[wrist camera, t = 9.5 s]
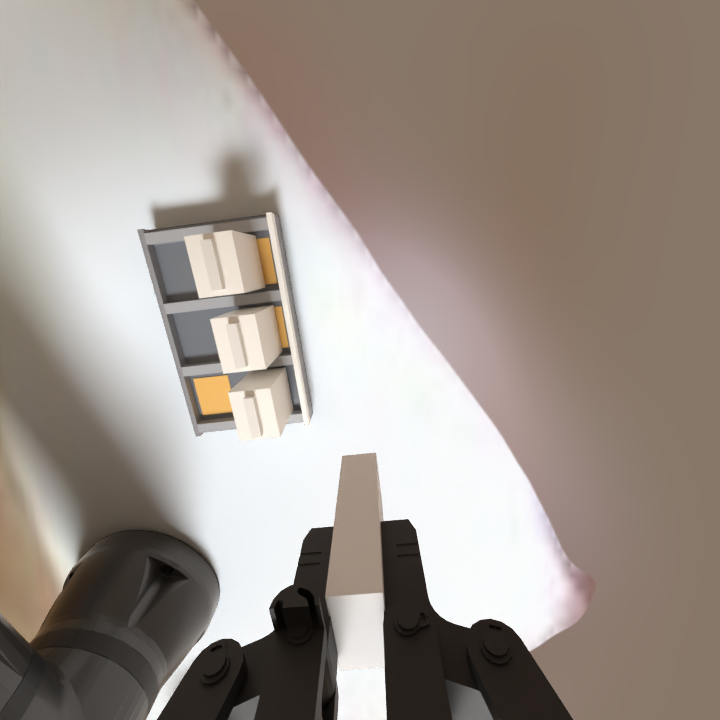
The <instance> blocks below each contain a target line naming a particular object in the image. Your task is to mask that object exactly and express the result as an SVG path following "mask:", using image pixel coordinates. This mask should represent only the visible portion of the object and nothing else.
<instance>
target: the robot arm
mask: <svg viewBox="0 0 720 720" xmlns="http://www.w3.org/2000/svg"><path fill="white" fill-rule="evenodd" d="M300 554H301V555H300V557H299V562H298V567H297V571H296V575H295V580H294V584H293V585H291V586H289V587H287V588H285V589H284V590H282V591H281V592H280V593H279V594H278V595H277V596H276V597H275V598H274V599H273V602H272V604H271V606H270V608H269V611H270V615H271V618H272V622H273V626H274V631H273V632H272V633H270V634H269V635H267V636H266V637H264V638H262V639H260V640H258V641H255V642H253V643H250V644H248V645H246V646H243V647H241V646H240V644H239V642H237V641H235V640H233V639H221V640H219V641H216V642H214V643H212V644H210V645H209V646H208V647H207V648H205V649H204V650H203V651H202V652H201V653H200V654H199V655H198V657H197V658H196V659H195V660H194V662H193V663H192V665H191V666H190V668H189V670H188V671H187V673H186V674H185V676H184V677H183V679H182V681H181V682H180V684H179V685H178V687H177V689H176V690H175V692H174V693H173V695H172V697H171V698H170V700H169V701H168V703H167V705H166V706H165V708H164V709H163V711H162V713H161V714H160V716H159V717H158V719H157V720H337V713H338V687H337V681H336V675H337V661H338V665H339V670H355V669H370V668H385V684H386V708H387V720H573V719H572V717H571V716H570V714H569V713H568V711H567V710H566V708H565V706H564V705H563V703H562V702H561V700H560V699H559V697H558V696H557V694H556V693H555V691H554V689H553V688H552V686H551V685H550V683H549V682H548V680H547V679H546V677H545V675H544V674H543V672H542V671H541V669H540V668H539V666H538V665H537V663H536V662H535V660H534V659H533V657H532V655H531V654H530V652H529V651H528V649H527V648H526V646H525V645H524V643H523V641H522V640H521V638H520V637H519V636H518V635H517V634H516V633H515V632H514V630H513V629H512V628H510V627H509V626H507V625H506V624H504V623H502V622H500V621H496V620H493V619H485V620H480V621H478V622H476V623H475V624H473V625H472V626H471V628H467V627H463V626H459V625H456V624H453V623H451V622H448V621H446V620H445V619H443V618H442V617H440V616H439V615H438V614H437V613H436V612H435V611H434V609H433V607H432V606H431V604H430V601H429V598H428V594H427V588H426V583H425V577H424V572H423V566H422V561H421V556H420V550H419V545H418V539H417V534H416V529H415V528H414V527H413V525H412V524H411V523H410V521H409V520H408V519H405V520H393V521H383V509H382V499H381V490H380V482H379V474H378V466H377V458H376V453H368V454H358V455H348V456H342V463H341V472H340V480H339V488H338V496H337V504H336V512H335V520H334V527H323V528H312V529H311V530H310V531H309V533H308V534H307V536H306V537H305V539H304V540H303V544H302V549H301V553H300ZM218 601H219V587H218V582H217V579H216V577H215V574H214V572H213V571H212V569H211V567H210V566H209V564H208V563H207V562H206V561H205V560H204V558H203V557H202V556H200V555H199V554H198V553H197V552H196V551H195V550H193V549H192V548H191V547H189V546H188V545H186V544H184V543H183V542H181V541H179V540H177V539H174V538H172V537H169V536H166V535H163V534H159V533H155V532H149V531H125V532H120V533H116V534H112V535H110V536H107V537H105V538H103V539H101V540H100V541H98V542H97V543H96V544H94V545H93V546H92V547H91V548H90V549H89V550H88V551H87V552H86V553H85V555H84V556H83V557H82V558H81V559H80V560H79V561H78V562H77V563H76V564H75V565H74V567H73V568H72V570H71V571H70V573H69V574H68V576H67V578H66V580H65V583H64V586H63V590H62V592H61V593H60V595H59V596H58V598H57V599H56V601H55V602H54V604H53V606H52V607H51V609H50V611H49V613H48V615H47V617H46V618H45V620H44V622H43V624H42V626H41V628H40V630H39V632H38V633H37V635H36V636H35V638H34V639H33V640H32V641H31V642H30V643H28V642H27V641H26V640H25V639H24V637H23V636H22V635H21V634H20V633H19V632H18V631H17V630H16V629H15V628H14V627H13V626H12V625H11V624H10V623H9V622H8V621H7V620H6V619H5V618H4V617H3V616H2V615H1V614H0V720H146V718H147V716H148V714H149V712H150V710H151V708H152V706H153V704H154V702H155V699H156V697H157V695H158V693H159V691H160V690H161V688H162V687H163V685H164V684H165V683H166V682H167V680H168V679H169V678H170V676H171V675H172V674H173V673H174V671H175V670H176V669H177V667H178V666H179V665H180V664H181V662H182V661H183V660H184V658H185V657H186V656H187V654H188V653H189V652H190V650H191V649H192V647H193V646H194V645H195V644H196V643H197V642H198V641H199V640H200V639H201V638H202V636H203V635H204V633H205V632H206V630H207V628H208V626H209V624H210V622H211V620H212V617H213V615H214V613H215V610H216V608H217V605H218Z"/></svg>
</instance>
